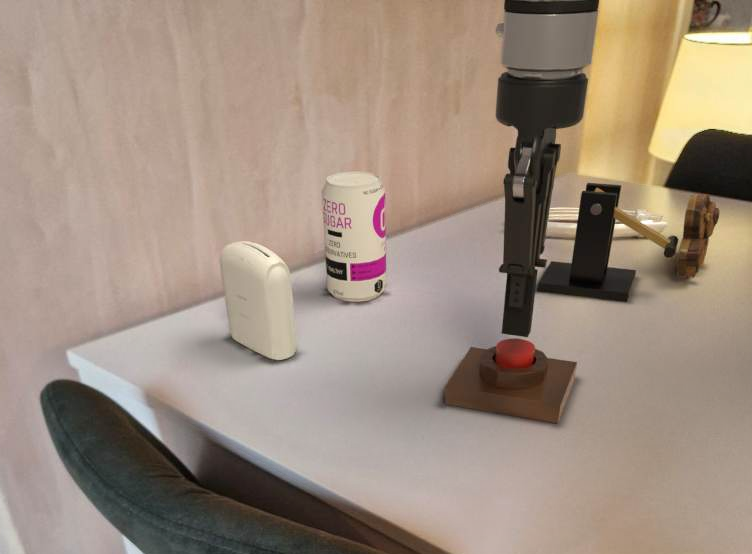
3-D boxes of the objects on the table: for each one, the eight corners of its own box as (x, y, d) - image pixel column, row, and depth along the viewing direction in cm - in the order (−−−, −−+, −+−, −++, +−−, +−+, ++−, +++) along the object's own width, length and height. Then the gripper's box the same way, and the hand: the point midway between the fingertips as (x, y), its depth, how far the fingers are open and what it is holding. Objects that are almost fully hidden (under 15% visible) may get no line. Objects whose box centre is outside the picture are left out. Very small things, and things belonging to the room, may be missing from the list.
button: (536, 356, 81) (538, 341, 80) (528, 372, 79) (530, 357, 77) (500, 351, 83) (501, 336, 82) (490, 367, 80) (492, 351, 79)
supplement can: (391, 283, 109) (390, 171, 100) (378, 305, 103) (377, 188, 93) (336, 279, 111) (331, 169, 101) (320, 301, 104) (313, 186, 95)
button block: (574, 379, 85) (579, 346, 82) (557, 423, 77) (562, 388, 75) (469, 364, 88) (471, 331, 86) (444, 404, 81) (445, 370, 79)
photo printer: (225, 338, 95) (211, 239, 88) (254, 328, 98) (242, 230, 90) (273, 365, 89) (262, 260, 82) (302, 354, 91) (294, 251, 84)
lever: (671, 251, 103) (683, 235, 101) (668, 263, 99) (680, 247, 97) (588, 200, 103) (598, 184, 101) (582, 211, 99) (592, 194, 97)
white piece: (666, 242, 120) (506, 237, 124) (658, 223, 128) (507, 219, 131) (670, 225, 118) (508, 220, 122) (661, 206, 126) (509, 202, 130)
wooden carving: (705, 290, 104) (724, 215, 98) (669, 286, 105) (686, 212, 99) (707, 251, 116) (724, 182, 110) (675, 248, 118) (690, 180, 111)
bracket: (634, 278, 108) (653, 183, 100) (627, 301, 102) (646, 202, 94) (550, 269, 112) (561, 176, 104) (537, 291, 105) (548, 194, 98)
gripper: (517, 59, 70) (495, 304, 85) (480, 81, 61) (463, 353, 75) (600, 61, 68) (564, 313, 82) (575, 85, 58) (539, 365, 73)
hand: (516, 332), depth 79 cm, fingers closed
